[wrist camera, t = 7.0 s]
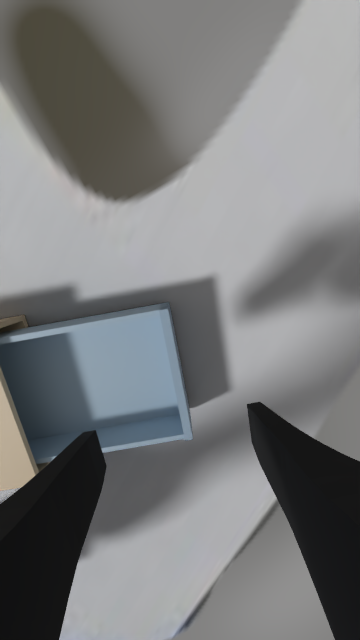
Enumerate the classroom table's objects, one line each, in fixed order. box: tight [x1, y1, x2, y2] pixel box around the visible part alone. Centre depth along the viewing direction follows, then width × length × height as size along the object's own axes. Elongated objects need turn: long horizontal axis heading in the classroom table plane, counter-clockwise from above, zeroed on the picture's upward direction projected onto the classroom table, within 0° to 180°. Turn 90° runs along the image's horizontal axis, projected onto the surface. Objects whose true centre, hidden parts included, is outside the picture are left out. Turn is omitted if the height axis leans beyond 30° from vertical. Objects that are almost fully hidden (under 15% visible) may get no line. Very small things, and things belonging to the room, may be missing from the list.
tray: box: [0, 302, 193, 464], centre depth 18 cm, size 10×17×3 cm, turn 100°
